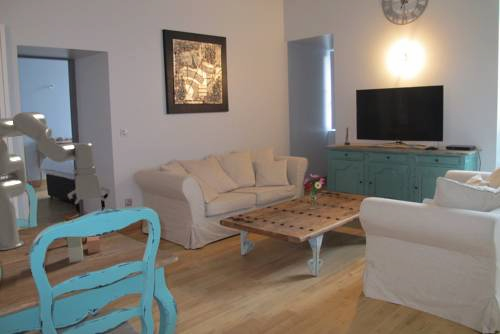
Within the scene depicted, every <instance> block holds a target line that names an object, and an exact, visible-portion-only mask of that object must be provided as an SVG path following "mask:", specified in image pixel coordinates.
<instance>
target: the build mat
mask: <svg viewBox="0 0 500 334" xmlns="http://www.w3.org/2000/svg"><path fill="white" fill-rule="evenodd" d="M86 261H87V253H85V254H84V253H83V261H77V262H76V263H81V262H86ZM73 263H75V262H71V263H70V259H69V256H67V260H66V264H73Z"/></svg>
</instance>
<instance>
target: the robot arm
mask: <svg viewBox="0 0 500 334" xmlns="http://www.w3.org/2000/svg"><path fill="white" fill-rule="evenodd" d="M52 135H53V130H52V128H51V127H50V126H49V125H47V119H46V117H45V116H44V115H43V113H41V112H39V111H27V112H26V111H23V112H19V113H17V114H15V115H14V117H9V118H7V117H5V118H0V177H1V178H0V251H7V250H13V249H16V248H20V247H22V246H23V245H24V241H23V240H21V239H20V236H19V228H18V226H19V225H18V221H17V220H18V219H17V213H16V212H17V211H16V207H15V205H14V203H13V202H12V201H11V199H14V198H16V197H19V196H22V195H23V194H24V193H25V192H26V189H27V182H26V180H27V179H26V168H25V163H24V161H23V159H22V157H21V156H19V155H18V154H16V153H15V154H14V153H13V154H12V153H10V154H9V150H8V149H9V147H8V144H7V142H6V141H5V139H4V138H13V137H23V136H27V137H28V138H30V139H31V140H33V141H34V142H35V143H36V146H37V148H38V149H39V151H40V153H41V154H43V155H44V156H45V157H47V159H50V160H52V161H53V162H56V163H66V162H70V161H71V162H72V161H75V166H76V169H74V170H73V174H75V175H76V176H75V181H74V183H75V189H74V190H72V191H71V192H69V193H67V197H68V198H69V201H71V202H72V203H73V204H75V210H76V212H77V213H78V214H81V208H80V200H91V199H95V198H96V199H97V198H98V199H100V205H101V210H102V211H104V208H105V209H106V204H105V200H106V199H107V198H108V197H109V194H110V193H111V189H110V188H107V187H104V186H102V185H101V180H100V176H99V173H97V170H96V169H97V168H96V162H95V161H96V159H95V153H94V152H95V151H94V146H93V144H92V143H91V142H80V143H79V142H68V143H67V142H66V143H61V144H59V143H57V142H55V141H53V140H52V139H51V137H52ZM2 177H6V178H2ZM103 191H104V192H105V194H104V195H102V194H103V193H102V192H103ZM74 195H76V199H75V198H74V197H73V196H74Z"/></svg>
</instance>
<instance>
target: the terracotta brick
mask: <svg viewBox="0 0 500 334" xmlns="http://www.w3.org/2000/svg"><path fill="white" fill-rule="evenodd" d="M94 236H95V237H87V243H86V244H87V245H86V246H87V254H95V253H100V252H101V242H100V235H99V236H96V235H94Z"/></svg>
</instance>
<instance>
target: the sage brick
mask: <svg viewBox="0 0 500 334" xmlns="http://www.w3.org/2000/svg"><path fill="white" fill-rule="evenodd" d="M81 243H82V239H81V238H80V237H68V238H67V241H66V244H67V249H68V248H74V247H81Z"/></svg>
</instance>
